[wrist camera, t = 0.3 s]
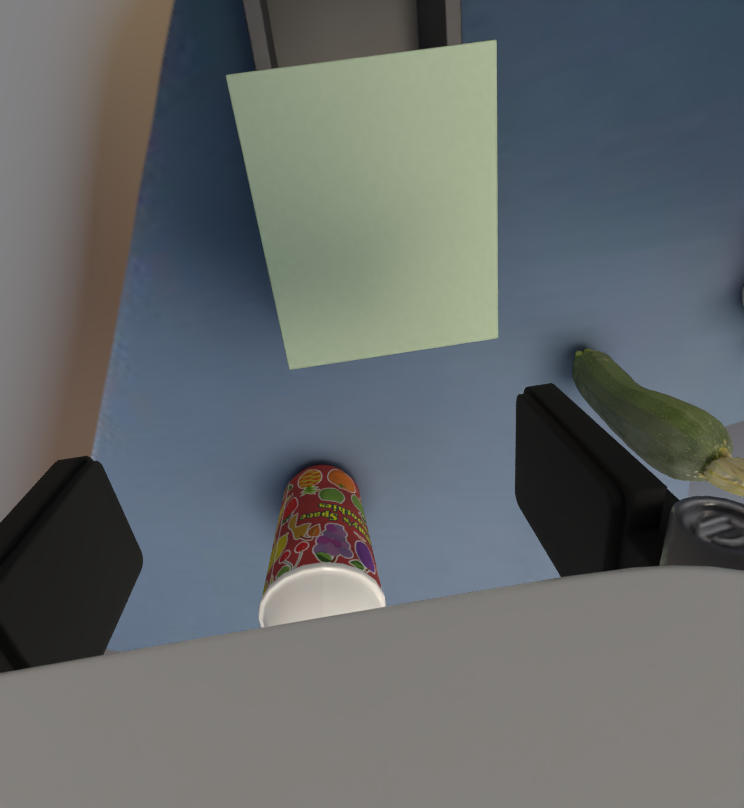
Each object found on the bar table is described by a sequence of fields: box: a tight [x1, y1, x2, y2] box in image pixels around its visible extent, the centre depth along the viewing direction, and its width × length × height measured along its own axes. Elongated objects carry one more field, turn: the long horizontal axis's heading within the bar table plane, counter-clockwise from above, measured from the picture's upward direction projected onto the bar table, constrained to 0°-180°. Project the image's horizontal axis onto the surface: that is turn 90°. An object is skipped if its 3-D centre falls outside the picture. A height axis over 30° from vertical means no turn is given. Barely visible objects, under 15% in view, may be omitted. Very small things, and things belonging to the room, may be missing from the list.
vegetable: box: [572, 349, 744, 496], centre depth 32 cm, size 4×4×20 cm
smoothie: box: [258, 465, 386, 628], centre depth 35 cm, size 8×8×20 cm
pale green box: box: [226, 40, 498, 370], centre depth 29 cm, size 15×13×10 cm
